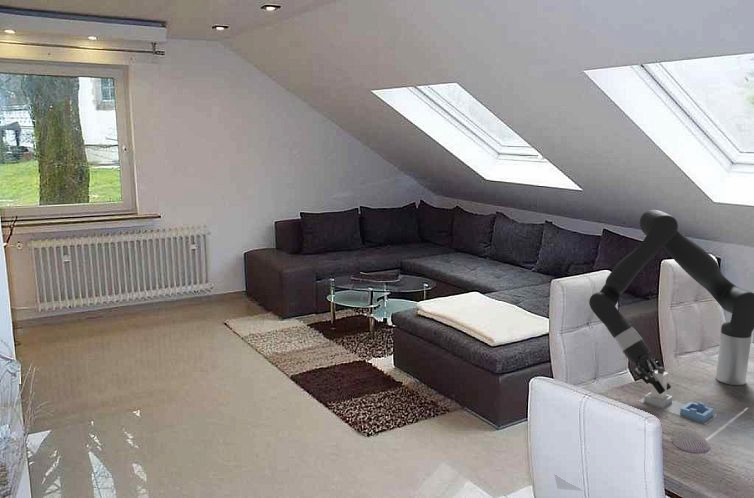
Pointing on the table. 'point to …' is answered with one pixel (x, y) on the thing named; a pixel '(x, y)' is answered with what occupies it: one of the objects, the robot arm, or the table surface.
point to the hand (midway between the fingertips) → (665, 390)
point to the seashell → (690, 440)
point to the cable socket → (682, 408)
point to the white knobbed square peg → (663, 381)
